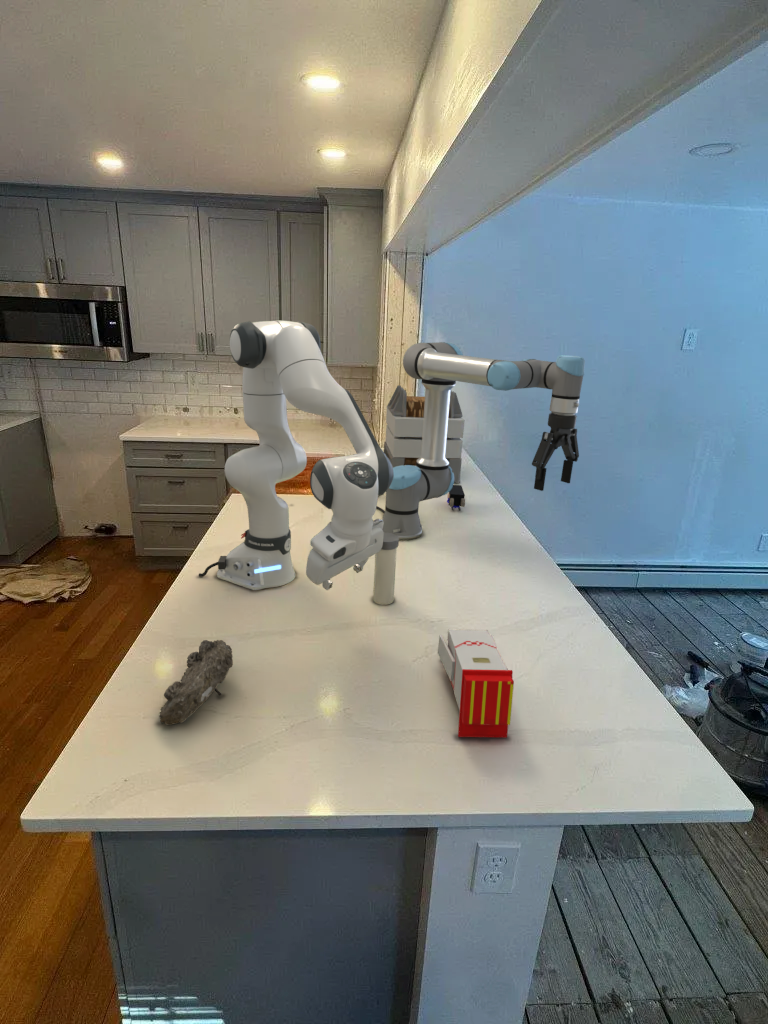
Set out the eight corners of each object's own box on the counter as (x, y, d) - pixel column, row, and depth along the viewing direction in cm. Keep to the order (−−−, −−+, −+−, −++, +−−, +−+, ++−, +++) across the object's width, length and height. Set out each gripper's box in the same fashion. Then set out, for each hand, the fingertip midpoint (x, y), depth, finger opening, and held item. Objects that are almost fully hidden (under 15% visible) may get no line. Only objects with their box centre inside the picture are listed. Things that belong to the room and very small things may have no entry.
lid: (403, 546, 148) (403, 539, 148) (382, 551, 145) (383, 543, 144) (389, 538, 153) (389, 531, 152) (369, 543, 150) (369, 535, 149)
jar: (397, 601, 154) (401, 540, 148) (380, 606, 151) (383, 544, 145) (385, 593, 158) (388, 533, 152) (369, 597, 155) (371, 537, 149)
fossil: (185, 642, 124) (233, 610, 119) (215, 671, 126) (264, 641, 122) (136, 718, 104) (191, 685, 99) (173, 751, 107) (229, 720, 102)
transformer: (382, 463, 289) (386, 382, 275) (445, 464, 293) (451, 384, 279) (390, 482, 257) (394, 392, 243) (460, 483, 261) (468, 394, 247)
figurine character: (465, 515, 224) (460, 499, 237) (467, 498, 221) (462, 483, 234) (448, 515, 224) (444, 499, 237) (450, 498, 220) (445, 482, 234)
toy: (488, 613, 130) (523, 677, 101) (484, 667, 133) (517, 744, 104) (435, 612, 130) (455, 676, 101) (432, 666, 133) (451, 743, 103)
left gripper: (374, 508, 130) (366, 553, 138) (304, 542, 117) (299, 589, 125) (394, 523, 127) (384, 568, 135) (323, 559, 114) (317, 606, 122)
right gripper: (548, 419, 148) (537, 496, 155) (598, 411, 163) (586, 482, 171) (525, 414, 153) (515, 489, 160) (575, 407, 169) (564, 476, 176)
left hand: (342, 578), depth 130 cm, fingers open, 8 cm apart
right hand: (552, 485), depth 166 cm, fingers open, 13 cm apart
